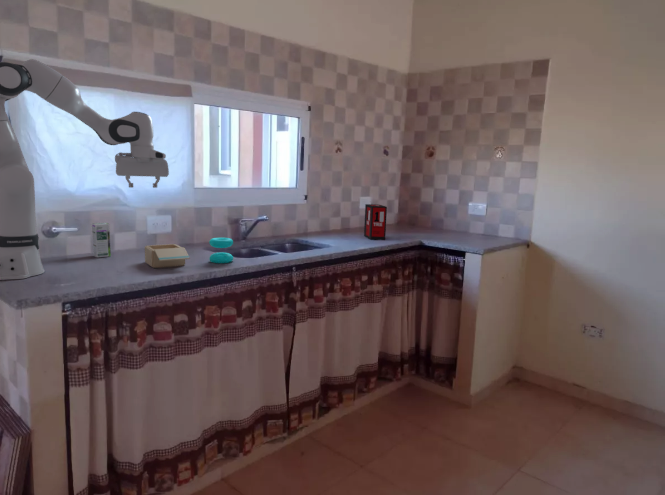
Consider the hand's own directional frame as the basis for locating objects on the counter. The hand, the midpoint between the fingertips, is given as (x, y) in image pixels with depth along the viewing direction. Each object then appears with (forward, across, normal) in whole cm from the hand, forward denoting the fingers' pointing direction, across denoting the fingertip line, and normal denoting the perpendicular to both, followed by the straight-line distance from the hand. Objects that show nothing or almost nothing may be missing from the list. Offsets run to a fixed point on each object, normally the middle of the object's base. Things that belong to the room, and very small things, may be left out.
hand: (143, 187), depth 196 cm
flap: (+23, +6, -18) cm, 30 cm away
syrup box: (+31, -14, +17) cm, 38 cm away
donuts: (+31, +28, -15) cm, 44 cm away
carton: (+31, +6, -10) cm, 33 cm away
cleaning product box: (+30, +138, +17) cm, 142 cm away
